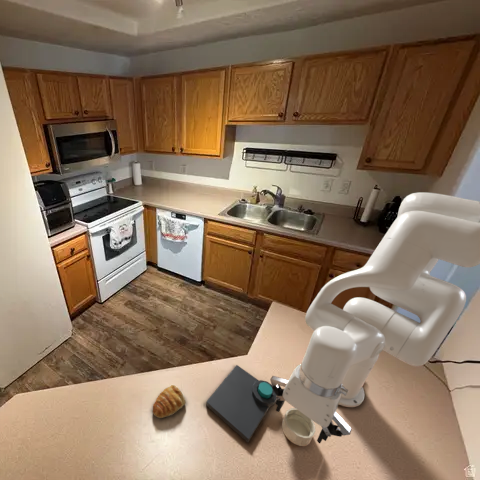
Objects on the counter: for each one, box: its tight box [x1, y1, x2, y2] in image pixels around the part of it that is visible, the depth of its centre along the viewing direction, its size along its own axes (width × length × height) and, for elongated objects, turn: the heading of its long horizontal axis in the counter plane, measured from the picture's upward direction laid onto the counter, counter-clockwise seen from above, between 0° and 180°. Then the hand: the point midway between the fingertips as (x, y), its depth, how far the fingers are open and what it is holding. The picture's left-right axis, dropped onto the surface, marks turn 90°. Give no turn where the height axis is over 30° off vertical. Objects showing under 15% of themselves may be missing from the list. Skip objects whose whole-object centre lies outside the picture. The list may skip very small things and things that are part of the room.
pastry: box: [152, 384, 187, 419], centre depth 73 cm, size 9×7×4 cm
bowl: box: [281, 407, 316, 447], centre depth 66 cm, size 7×7×4 cm
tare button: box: [258, 382, 272, 398], centre depth 72 cm, size 4×4×2 cm
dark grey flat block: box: [205, 364, 277, 444], centre depth 73 cm, size 16×14×4 cm
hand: (299, 421), depth 64 cm, fingers open, 9 cm apart
